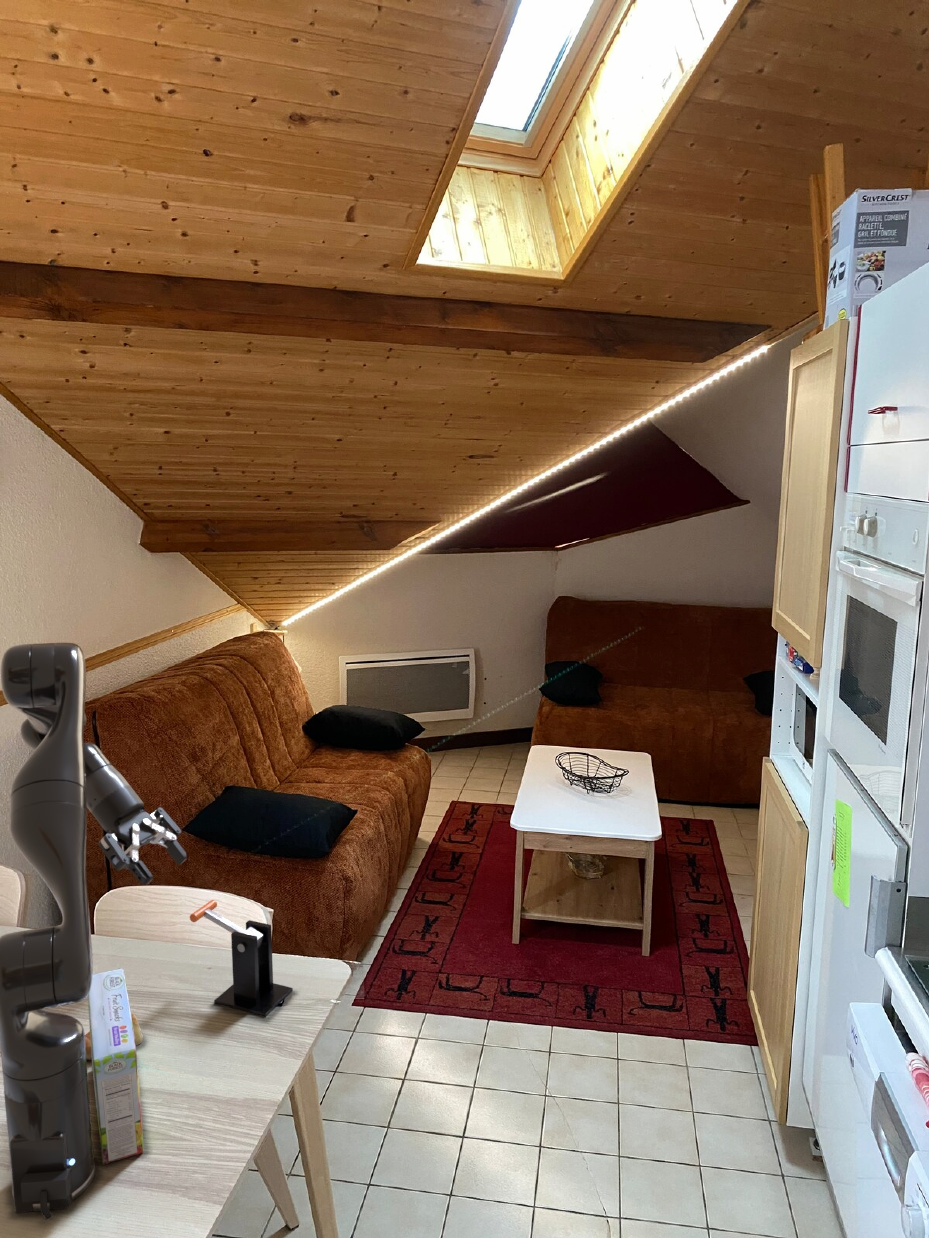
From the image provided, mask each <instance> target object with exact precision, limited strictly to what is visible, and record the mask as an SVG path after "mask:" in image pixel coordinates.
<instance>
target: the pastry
mask: <svg viewBox="0 0 929 1238" xmlns="http://www.w3.org/2000/svg"><path fill="white" fill-rule="evenodd" d="M131 1017H132V1024H133V1031H134V1038H135V1045H136V1046H139V1045H140V1044H142V1042H143V1040H144V1036H143V1032H142V1029H141V1027H140V1024H139V1020H138V1018H137V1017H136V1014H134V1013H132V1012H131ZM85 1045H86V1060H89V1061H92V1055H91V1041H90V1030H89V1031H88V1032H87V1033H85Z"/></svg>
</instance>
